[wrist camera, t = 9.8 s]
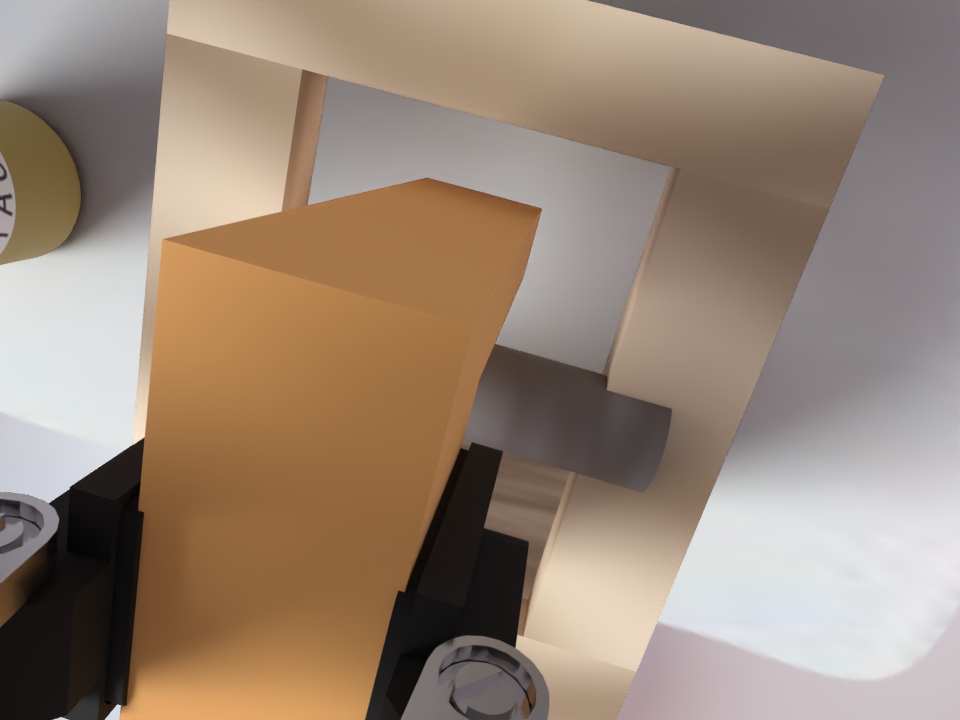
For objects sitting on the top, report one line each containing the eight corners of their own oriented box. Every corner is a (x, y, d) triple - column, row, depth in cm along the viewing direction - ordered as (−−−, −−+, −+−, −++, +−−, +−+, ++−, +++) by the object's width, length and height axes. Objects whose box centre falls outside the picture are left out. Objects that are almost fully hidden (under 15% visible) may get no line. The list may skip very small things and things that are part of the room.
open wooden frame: (375, 16, 26) (156, -116, 13) (732, 109, 25) (901, 71, 12) (306, 409, 32) (104, 605, 18) (596, 495, 31) (607, 765, 17)
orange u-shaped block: (427, 177, 17) (161, 239, 6) (541, 208, 17) (472, 326, 6) (363, 475, 20) (107, 869, 9) (460, 504, 20) (316, 940, 9)
